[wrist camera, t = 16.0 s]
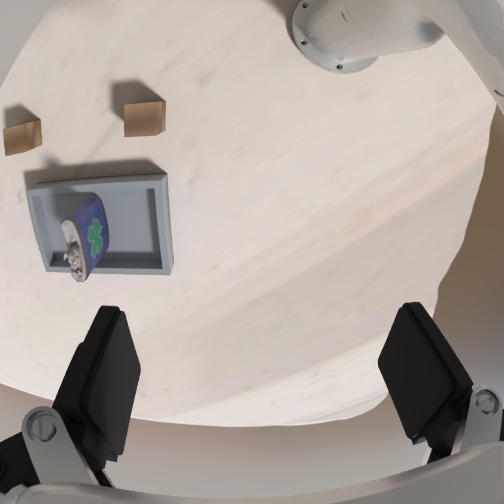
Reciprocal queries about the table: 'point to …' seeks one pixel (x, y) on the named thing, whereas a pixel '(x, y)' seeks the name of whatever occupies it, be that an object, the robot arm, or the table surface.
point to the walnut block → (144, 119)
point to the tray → (118, 218)
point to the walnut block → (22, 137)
